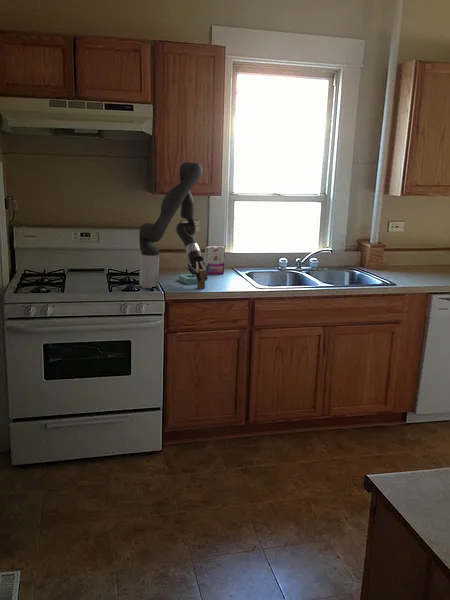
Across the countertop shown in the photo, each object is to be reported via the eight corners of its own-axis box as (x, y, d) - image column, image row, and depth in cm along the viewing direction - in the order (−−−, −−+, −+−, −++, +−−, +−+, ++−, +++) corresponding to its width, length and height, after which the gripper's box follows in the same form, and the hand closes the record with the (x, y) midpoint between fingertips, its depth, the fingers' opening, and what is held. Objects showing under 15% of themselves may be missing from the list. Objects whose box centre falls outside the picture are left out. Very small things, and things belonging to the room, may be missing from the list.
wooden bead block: (186, 284, 309) (187, 278, 308) (178, 280, 318) (178, 274, 317) (204, 283, 314) (205, 277, 313) (196, 279, 323) (196, 273, 323)
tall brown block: (199, 288, 300) (200, 270, 297) (197, 287, 302) (198, 269, 300) (204, 288, 301) (205, 270, 298) (202, 287, 304) (203, 268, 301)
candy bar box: (221, 272, 345) (223, 246, 341) (224, 274, 341) (225, 247, 337) (204, 272, 342) (205, 245, 338) (205, 274, 338) (207, 247, 334)
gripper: (184, 249, 300) (193, 277, 292) (208, 249, 306) (217, 275, 299) (180, 258, 306) (188, 284, 298) (203, 257, 312) (212, 283, 305)
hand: (203, 280), depth 299 cm, fingers closed on tall brown block, 3 cm apart
